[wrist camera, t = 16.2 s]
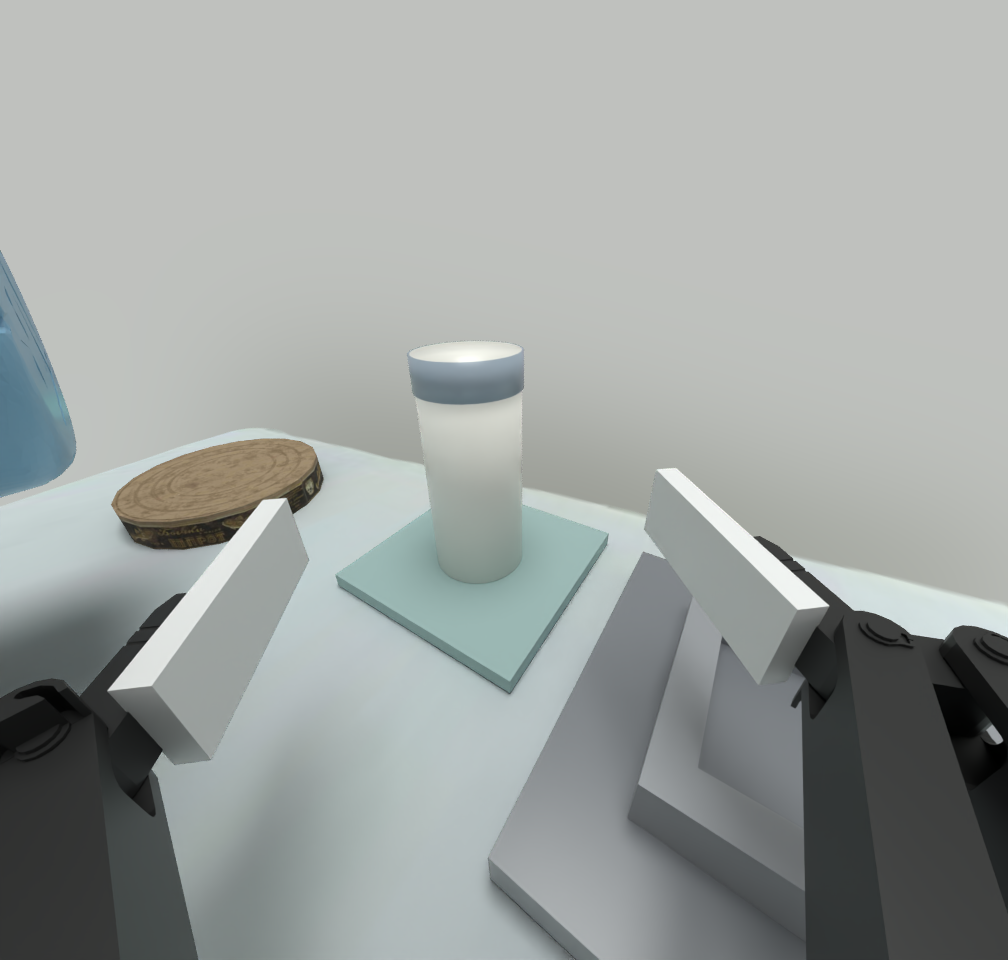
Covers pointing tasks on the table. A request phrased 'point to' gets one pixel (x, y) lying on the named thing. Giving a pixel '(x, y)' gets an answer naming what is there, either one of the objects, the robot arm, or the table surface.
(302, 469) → the wood slice coaster
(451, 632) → the mat
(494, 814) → the table surface
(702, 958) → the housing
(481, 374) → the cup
